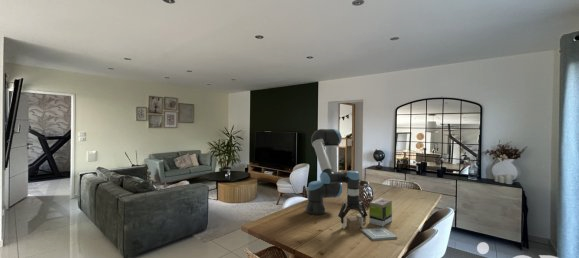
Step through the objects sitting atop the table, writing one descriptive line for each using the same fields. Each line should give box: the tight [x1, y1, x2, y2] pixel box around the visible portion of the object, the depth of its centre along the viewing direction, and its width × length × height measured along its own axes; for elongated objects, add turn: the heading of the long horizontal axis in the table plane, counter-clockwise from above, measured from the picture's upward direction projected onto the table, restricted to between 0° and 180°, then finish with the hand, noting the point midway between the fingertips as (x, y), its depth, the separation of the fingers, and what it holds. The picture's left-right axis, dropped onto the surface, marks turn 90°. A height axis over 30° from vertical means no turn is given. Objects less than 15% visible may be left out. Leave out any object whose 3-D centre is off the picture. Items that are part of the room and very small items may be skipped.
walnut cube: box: [345, 216, 360, 231], centre depth 166 cm, size 6×6×6 cm
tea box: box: [368, 197, 393, 227], centre depth 176 cm, size 15×10×15 cm
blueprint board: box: [360, 226, 398, 241], centre depth 155 cm, size 14×16×1 cm
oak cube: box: [355, 213, 367, 225], centre depth 175 cm, size 5×5×5 cm
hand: (352, 227), depth 166 cm, fingers open, 12 cm apart
